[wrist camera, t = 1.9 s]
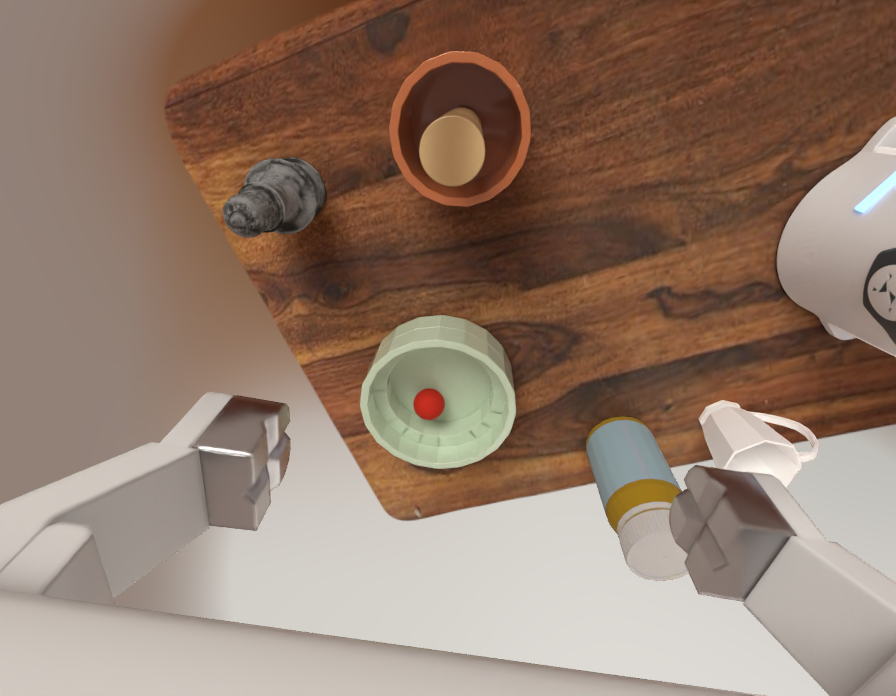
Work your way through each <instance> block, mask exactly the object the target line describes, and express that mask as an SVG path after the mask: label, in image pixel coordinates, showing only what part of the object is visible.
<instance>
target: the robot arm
mask: <svg viewBox="0 0 896 696" xmlns="http://www.w3.org/2000/svg"><path fill="white" fill-rule="evenodd" d="M777 271H778V276H779V280H780V282H781V285H782V287H783V289H784V290H785V292H786V293H787V295H788V296H789V297H790V298H791V299H792V300H793V301H794V302H795V303H796V304H798V305H799V306H801V307H803V308H805V309H806V310H808V311H810V312H812V313H814V314H815V315H816V316H818V317H819V319H820V321H821V323H822V324H823V326H824V328H825V329H826V331H827V332H828V333H829V334H830V335H832V336H834V337H836V338H838V339H841V340H849V339H854V338H858V339H860V340H862V341H864V342H866V343H868V344H870V345H872V346H874V347H876V348H878V349H880V350H882V351H884V352H886V353H889V354H891V355H893V356H895V357H896V116H895V117H893V118H892V119H890V120H889V121H887V122H886V123H885V124H884V125H883V126H882V127H881V128H880V129H879V130H878V131H877V132H876V133H875V135H874V136H873V137H872V138H871V139H870V140H869V142H868V143H867V144H866V145H865V146H864V148H863V149H862V150H861V151H860V152H859V153H858V154H857V155H856V156H854V157H853V158H852V159H850V160H849V161H847V162H846V163H844V164H843V165H841V166H840V167H838V168H837V169H835V170H834V171H833V172H831V173H830V174H828V175H827V176H826V177H825V178H823V179H822V180H821V181H820V182H819V183H818V184H817V185H816V186H814V187H813V188H812V189H811V190H810V191H809V192H808V194H807V195H806V196H805V197H804V198H803V199H802V201H801V202H800V203H799V204H798V206H797V207H796V209H795V210H794V212H793V213H792V215H791V216H790V218H789V220H788V222H787V224H786V226H785V228H784V230H783V233H782V236H781V239H780V242H779V246H778V252H777ZM289 422H290V414H289V407H288V405H287V404H285V403H279V402H273V401H267V400H261V399H256V398H249V397H243V396H238V395H237V396H235V395H231V394H224V393H218V392H209V393H206V394H204V395H203V396H202V397H201V398H200V400H199V401H198V402H197V403H196V404H195V405H194V406H193V407H192V408H191V410H190V411H189V412H188V413H187V414H186V415H185V416H184V417H183V418H182V420H180V421H179V423H178V424H177V425H176V426H175V427H174V428H173V429H172V430H171V431H170V432H169V434H168V435H167V436H166V437H165V438H164V439H163V440H162V441H161V442H160V443H153V442H150V443H148V444H146V445H144V446H141V447H138V448H136V449H134V450H131V451H129V452H126V453H124V454H121V455H119V456H117V457H114V458H112V459H109V460H107V461H104V462H102V463H100V464H97V465H95V466H92V467H90V468H88V469H85V470H83V471H80V472H78V473H76V474H73V475H71V476H68V477H66V478H63V479H61V480H59V481H56V482H54V483H51V484H49V485H47V486H44V487H42V488H39V489H37V490H34V491H32V492H30V493H27V494H25V495H22V496H20V497H17V498H15V499H13V500H10V501H8V502H5V503H3V504H0V696H763V695H756V694H749V693H742V692H735V691H727V690H720V689H713V688H706V687H698V686H691V685H683V684H676V683H669V682H662V681H655V680H647V679H640V678H633V677H625V676H618V675H610V674H603V673H596V672H589V671H581V670H575V669H568V668H560V667H553V666H546V665H539V664H532V663H525V662H517V661H510V660H503V659H495V658H489V657H481V656H474V655H467V654H460V653H453V652H446V651H439V650H431V649H424V648H417V647H410V646H403V645H395V644H388V643H381V642H374V641H366V640H359V639H352V638H345V637H338V636H330V635H323V634H316V633H309V632H301V631H295V630H287V629H280V628H273V627H265V626H258V625H251V624H244V623H237V622H230V621H223V620H215V619H207V618H201V617H193V616H186V615H179V614H172V613H165V612H158V611H150V610H143V609H136V608H128V607H122V606H116V605H115V602H114V600H113V598H115V597H116V596H118V595H119V594H120V593H122V592H123V591H124V590H126V589H127V588H128V587H130V586H131V585H132V584H134V583H135V582H137V581H138V580H139V579H141V578H142V577H143V576H145V575H146V574H147V573H149V572H150V571H152V570H153V569H154V568H156V567H157V566H158V565H160V564H161V563H163V562H164V561H165V560H167V559H168V558H169V557H171V556H172V555H174V553H176V552H178V551H179V550H180V549H182V548H183V547H184V546H186V545H187V544H189V543H190V542H191V541H192V540H194V539H195V538H197V537H198V536H199V535H201V534H202V533H203V532H205V531H206V530H207V529H209V525H211V526H218V527H227V528H236V529H245V530H253V531H256V530H257V529H258V527H259V525H260V523H261V521H262V519H263V517H264V515H265V513H266V511H267V509H268V507H269V505H270V503H271V502H270V501H271V500H270V491H271V490H273V489H274V488H276V487H278V486H279V485H280V483H281V481H282V479H283V477H284V475H285V472H286V468H287V465H288V461H289V455H290V438H289V437H288V435H287V434H286V433H285V432H284V431H285V429H286V427H287V425H288V424H289ZM684 481H685V484H686V486H687V489H686V490H684V491H683V492H681V493H679V494H678V495H676V496H675V498H674V500H673V502H672V505H671V507H670V514H669V524H670V530H671V533H672V536H673V538H674V540H675V543H676V544H677V545H678V546H679V547H681V548H682V549H683V550H684V551H685V552H686V553H687V557H686V560H685V562H684V563H685V565H686V568H687V570H688V572H689V574H690V576H691V579H692V581H693V583H694V585H695V587H696V590H697V592H698V594H701V595H707V596H712V597H718V598H724V599H730V600H736V601H742V602H744V603H743V605H744V606H745V607H746V608H747V609H748V610H749V611H750V612H751V613H752V614H753V615H754V616H755V617H756V619H758V621H759V622H760V623H761V624H763V626H764V627H765V628H766V629H767V630H768V631H769V632H770V633H771V634H772V635H773V637H774V638H775V639H776V640H777V641H778V642H779V643H780V644H781V645H782V646H783V647H784V648H785V649H786V650H787V651H788V652H789V653H790V654H791V656H793V658H794V659H795V660H796V661H797V662H798V663H799V664H800V665H801V666H802V667H803V668H804V669H805V670H806V671H807V672H808V673H809V674H810V676H811V677H813V679H814V680H815V681H816V682H817V683H818V684H819V685H820V686H821V687H822V688H823V689H824V690H825V691H826V692H827V693H828V695H829V696H896V582H894V581H893V580H891V579H890V578H888V577H887V576H885V575H884V574H882V573H881V572H879V571H878V570H876V569H875V568H873V567H872V566H870V565H869V564H867V563H866V562H864V561H863V560H862V559H860V558H858V557H857V556H856V555H854V554H853V553H851V552H849V551H848V550H847V549H845V548H844V547H842V546H841V545H839V544H838V543H836V542H830V541H827V539H826V538H825V537H824V535H823V534H822V533H821V532H820V531H819V529H818V528H817V527H816V525H815V524H814V523H813V522H812V520H811V519H810V518H809V517H808V515H807V514H806V513H805V511H804V510H803V509H802V508H801V506H800V505H799V504H798V503H797V501H796V500H795V499H794V498H793V496H792V495H791V494H790V493H789V491H788V490H787V489H786V488H785V486H784V485H783V484H782V482H781V481H780V480H779V479H777V478H776V477H774V476H773V475H770V474H762V473H754V472H740V471H733V470H726V469H719V468H713V467H705V466H698V465H695V466H694V467H692V468H691V469H690V470H689V471H688V473H687V475H686V477H685V479H684Z"/></svg>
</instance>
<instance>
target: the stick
mask: <svg viewBox="0 0 896 696" xmlns="http://www.w3.org/2000/svg"><path fill="white" fill-rule="evenodd" d="M419 155H420V160H421V164H422V166H423V168H424V170H425V172H426V173H427V174H428V175H429V177H430V178H432V179H433V180H434V181H435V182H437V183H439V184H442V185H445V186H460V185H463V184H465V183H467V182H469V181H471V180H472V179H473V178H474V177H475V176H476V175H477V174H478V172H479V171H480V169H481V167H482V165H483V162H484V158H485V143H484V137H483V130H482V124H481V119H480V117H479V115H478V114H477V112H476V111H475V110H473V109H472V108H470V107H466V106H459V107H456V108H454V109H452V110H451V111H449V112H448V113H446V114H444V115H443V116H441V117H440V118H438V119H437V120H435V121H434V122H432V123H431V124H430V125H429V126H428V127H427V129H426V130H425V132H424V133H423V136H422V138H421V141H420V147H419Z"/></svg>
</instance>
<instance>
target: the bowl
mask: <svg viewBox="0 0 896 696" xmlns="http://www.w3.org/2000/svg"><path fill="white" fill-rule="evenodd" d="M427 388H431V389H435V390H437V391H438V392H440V393H441V394H442V396H443V398H444V401H445V407H444V410H443V412H442V414H441V415H440V416H439V417H438V418H436V419H433V420H425V419H422V418H420V417H419V416H418V415H417V414H416V412H415V410H414V406H413V402H414V398H415V396H416V395H417V394H418V393H419V392H420V391H421V390H423V389H427ZM360 408H361V411H362V415H363V419H364V422H365V425H366V427H367V428H368V430H369V431H370V433H371V434H372V436H373V437H374V439H375V440H376V441H377V442H378V443H379V444H380V445H381V446H382V447H384V448H385V449H386V450H387V451H389V452H390V453H391V454H392V455H394V456H396V457H398V458H400V459H403V460H405V461H407V462H409V463H412V464H415V465H419V466H424V467H430V468H437V469H441V468H456V467H461V466H464V465H467V464H470V463H473V462H477V461H479V460H481V459H483V458H484V457H486V456H487V455H489V454H490V453H492V452H493V451H495V450H496V449H498V448H499V446H500V445H501V444H502V442H503V441H504V440H505V439H506V437H507V436H508V435H509V433H510V431H511V428H512V425H513V422H514V419H515V415H516V404H515V392H514V384H513V376H512V368H511V363H510V361H509V359H508V357H507V355H506V353H505V351H504V349H503V347H502V345H501V344H500V343H499V342H498V341H497V340H496V339H495V338H494V337H493V336H492V335H491V334H490V333H489V332H488V331H487V330H486V329H484V328H482V327H480V326H478V325H476V324H474V323H472V322H470V321H468V320H466V319H461V318H456V317H451V316H445V315H438V316H428V317H419V318H416V319H414V320H411V321H409V322H407V323H404V324H402V325H400V326H398V327H397V328H395V329H394V330H393V331H392V332H391V333H390V334H389V335H388V336H386V337H385V338H384V339H383V340H382V341H381V343H380V345H379V347H378V349H377V351H376V353H375V355H374V356H373V359H372V361H371V364H370V366H369V369H368V371H367V374H366V376H365V379H364V382H363V384H362V390H361V399H360Z"/></svg>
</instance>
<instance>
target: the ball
mask: <svg viewBox="0 0 896 696" xmlns="http://www.w3.org/2000/svg"><path fill="white" fill-rule="evenodd" d="M413 406H414V410H415V412H416V414H417V415H418V416H419V417H420V418H422V419H425V420H433V419H436V418H438V417H439V416H440V415H441V414H442V412H443V410H444V407H445V401H444V398H443V396H442V394H441V393H440V392H438V391H437V390H435V389H431V388H427V389H423V390H421V391H420V392H419V393H418V394H417V395H416V396H415V398H414V402H413Z"/></svg>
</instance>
